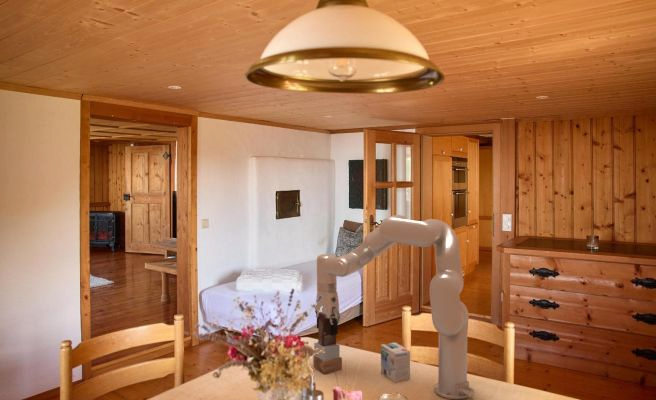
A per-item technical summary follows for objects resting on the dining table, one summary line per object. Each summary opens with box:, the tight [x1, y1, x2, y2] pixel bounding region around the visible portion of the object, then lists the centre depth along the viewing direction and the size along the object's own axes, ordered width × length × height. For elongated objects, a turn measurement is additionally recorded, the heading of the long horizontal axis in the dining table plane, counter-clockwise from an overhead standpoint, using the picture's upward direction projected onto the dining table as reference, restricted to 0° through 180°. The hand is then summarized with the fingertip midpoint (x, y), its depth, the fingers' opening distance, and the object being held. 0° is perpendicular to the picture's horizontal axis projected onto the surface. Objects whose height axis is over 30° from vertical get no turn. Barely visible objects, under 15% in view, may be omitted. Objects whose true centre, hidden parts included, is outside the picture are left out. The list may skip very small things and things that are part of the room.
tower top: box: [313, 341, 341, 361], centre depth 188 cm, size 7×7×5 cm
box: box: [317, 313, 337, 346], centre depth 187 cm, size 6×4×12 cm
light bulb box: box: [380, 341, 411, 383], centre depth 181 cm, size 11×7×11 cm, turn 23°
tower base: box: [312, 354, 343, 375], centre depth 188 cm, size 8×8×5 cm
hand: (327, 331), depth 187 cm, fingers open, 9 cm apart
